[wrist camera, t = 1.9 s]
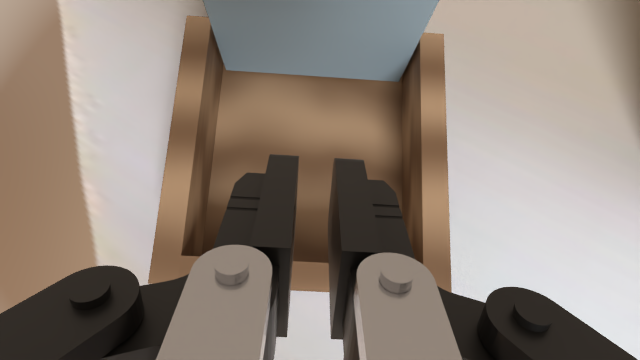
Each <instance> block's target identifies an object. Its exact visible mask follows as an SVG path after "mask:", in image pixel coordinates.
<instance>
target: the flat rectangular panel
mask: <svg viewBox="0 0 640 360" xmlns="http://www.w3.org/2000/svg"><path fill="white" fill-rule="evenodd" d="M203 2H204V5H205V8H206V11H207V14H208V17H209V20H210V23H211V26H212V29H213V32H214V35H215V38H216V41H217V44H218V47H219V50H220V53H221V56H222V59H223V62H224V65H225V68H226V70H231V71H246V72H261V73H276V74H291V75H305V76H320V77H335V78H350V79H365V80H379V81H394V82H399V81H400V79H401V77H402V75H403V73H404V71H405V69H406V66H407V64H408V62H409V60H410V58H411V56H412V54H413V52H414V50H415V48H416V46H417V44H418V42H419V40H420V38H421V36H422V34H423V32H424V30H425V28H426V26H427V24H428V22H429V20H430V18H431V16H432V14H433V12H434V10H435V8H436V6H437V4H438V2H439V0H203Z"/></svg>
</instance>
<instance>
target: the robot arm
mask: <svg viewBox="0 0 640 360" xmlns="http://www.w3.org/2000/svg"><path fill="white" fill-rule="evenodd" d="M298 168H299V156H292V155H275V154H270V155H269V159H268V164H267V169H266V173H248V172H247V173H246V174H245V175H244V176H242V177H241V178H240V179H239V180H238V181H237V182H235V184H234V187H233V190H232V193H231V196H230V199H229V202H228V205H227V210H226V211H225V214H224V217H223V220H222V223H221V226H220V229H219V232H218V235H217V238H216V241H215V244H214V247H213V249H212V250H210V251H208V252H206V253H204V254H203V255H202V256H200V257H199V258H198V259H197V260H196V262H195V263H194V264H193V266H192V268H191V271H190V273H189V274H188V275H185V276H183V277H180V278H177V279H174V280H169V281H164V282H159V283H154V284H149V285H143V286H139V282H138V279H137V278H136V276H135V275H134V274H133V273H132V272H131V271H129V270H127V269H124V268H121V267H117V266H97V267H91V268H88V269H84V270H81V271H78V272H75V273H73V274H71V275H69V276H67V277H65V278H64V279H62V280H60V281H58V282H57V283H55V284H53V285H51V286H49V287H48V288H46V289H44V290H42V291H40V292H38V293H37V294H35V295H33V296H31V297H29V298H28V299H26V300H24V301H22V302H21V303H19V304H17V305H15V306H14V307H12V308H10V309H8V310H6V311H4V312H3V313H1V314H0V360H273V359H274V354H275V345H276V337H287V329H288V316H289V303H290V290H291V277H292V265H293V252H294V239H295V225H296V208H297V188H298ZM328 259H329V291H330V324H331V339H343V346H344V359H343V360H637V359H636V358H635V357H633V356H632V355H630V354H629V353H627V352H626V351H624V350H623V349H622V348H620V347H619V346H617V345H616V344H614V343H613V342H611V341H610V340H609V339H607V338H606V337H604V336H603V335H601V334H600V333H598V332H597V331H595V330H594V329H593V328H591V327H590V326H588V325H587V324H585V323H584V322H582V321H581V320H580V319H578V318H577V317H575V316H574V315H572V314H571V313H569V312H568V311H567V310H565V309H564V308H562V307H561V306H559V305H558V304H556V303H555V302H554V301H552V300H550V299H549V298H547V297H545V296H543V295H541V294H539V293H537V292H534V291H532V290H528V289H525V288H519V287H503V288H499V289H497V290H495V291H493V292H492V293H491V294H490V295H489V296H488V298H487V300H486V303H484V302H480V301H477V300H474V299H470V298H467V297H463V296H460V295H457V294H454V293H451V292H448V291H446V290H444V289H442V288H440V287H439V286H437V284H436V282H435V279H434V277H433V275H432V274H431V272H430V271H429V270H428V269H427V268H426V267H425V266H424V265H423V264H421V263H420V262H418V261H417V260H415V256H414V253H413V250H412V246H411V243H410V240H409V236H408V233H407V229H406V226H405V223H404V219H403V216H402V213H401V209H400V208H399V202H398V199H397V196H396V192H395V191H394V190H393V189H392V188H391V187H390V186H389V185H388V184H387V183H386V182H385V181H384V180H368V178H367V173H366V168H365V163H364V160H359V159H342V158H334V163H333V172H332V182H331V192H330V203H329V214H328Z"/></svg>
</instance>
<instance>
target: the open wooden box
mask: <svg viewBox="0 0 640 360" xmlns="http://www.w3.org/2000/svg"><path fill="white" fill-rule="evenodd" d="M270 154H275V155H292V156H299V168H298V188H297V208H296V225H295V239H294V252H293V265H292V277H291V290H296V291H317V292H330V291H329V259H328V214H329V203H330V192H331V182H332V172H333V163H334V158H342V159H359V160H364V163H365V168H366V173H367V178H368V180H384V181H385V182H386V183H387V184H388V185H389V186H390V187H391V188H392V189H393V190H394V191H395V192H396V196H397V199H398V202H399V208H400V209H401V213H402V216H403V219H404V223H405V226H406V229H407V233H408V236H409V240H410V243H411V246H412V250H413V253H414V256H415V260H417V261H418V262H420V263H421V264H423V265H424V266H425V267H426V268H427V269H428V270H429V271H430V272H431V274H432V275H433V277H434V279H435V282H436V284H437V286H439V287H440V288H442V289H444V290H446V291H448V292H451V261H450V228H449V195H448V162H447V129H446V97H445V64H444V34H435V33H423V34H422V36H421V38H420V40H419V42H418V44H417V46H416V48H415V50H414V52H413V54H412V56H411V58H410V60H409V62H408V64H407V66H406V69H405V71H404V73H403V75H402V77H401V79H400V81H399V82H394V81H379V80H365V79H350V78H335V77H320V76H305V75H291V74H276V73H261V72H246V71H231V70H226V68H225V65H224V62H223V59H222V56H221V53H220V50H219V47H218V44H217V41H216V38H215V35H214V32H213V29H212V26H211V23H210V20H209V17H199V16H187V18H186V25H185V32H184V39H183V46H182V52H181V59H180V66H179V73H178V80H177V87H176V94H175V101H174V108H173V115H172V121H171V128H170V135H169V142H168V149H167V156H166V163H165V170H164V177H163V183H162V190H161V197H160V204H159V211H158V218H157V225H156V232H155V239H154V246H153V252H152V259H151V266H150V273H149V280H148V283H150V284H154V283H159V282H164V281H169V280H174V279H177V278H180V277H183V276H185V275H188V274H189V273H190V271H191V268H192V266H193V264H194V263H195V262H196V260H197V259H198V258H199V257H200V256H202V255H203V254H204V253H206V252H208V251H210V250H212V249H213V247H214V244H215V241H216V238H217V235H218V232H219V229H220V226H221V223H222V220H223V217H224V214H225V211H226V210H227V205H228V202H229V199H230V196H231V193H232V190H233V187H234V184H235V182H237V181H238V180H239V179H240V178H241V177H242V176H244V175H245V174H246V173H247V172H248V173H266V169H267V164H268V159H269V155H270Z"/></svg>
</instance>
